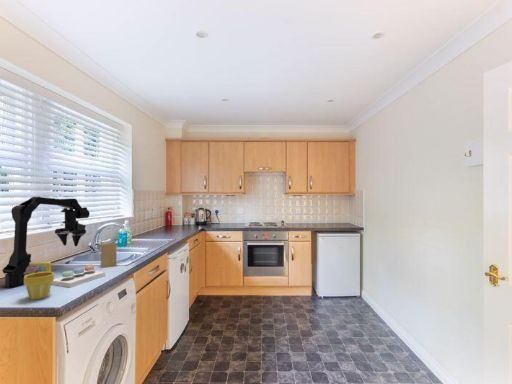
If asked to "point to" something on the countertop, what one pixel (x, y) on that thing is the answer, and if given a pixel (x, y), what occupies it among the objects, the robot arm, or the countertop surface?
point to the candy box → (38, 267)
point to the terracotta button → (89, 267)
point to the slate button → (78, 270)
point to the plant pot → (38, 284)
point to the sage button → (67, 273)
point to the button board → (77, 278)
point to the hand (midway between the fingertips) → (70, 245)
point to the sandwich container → (108, 255)
